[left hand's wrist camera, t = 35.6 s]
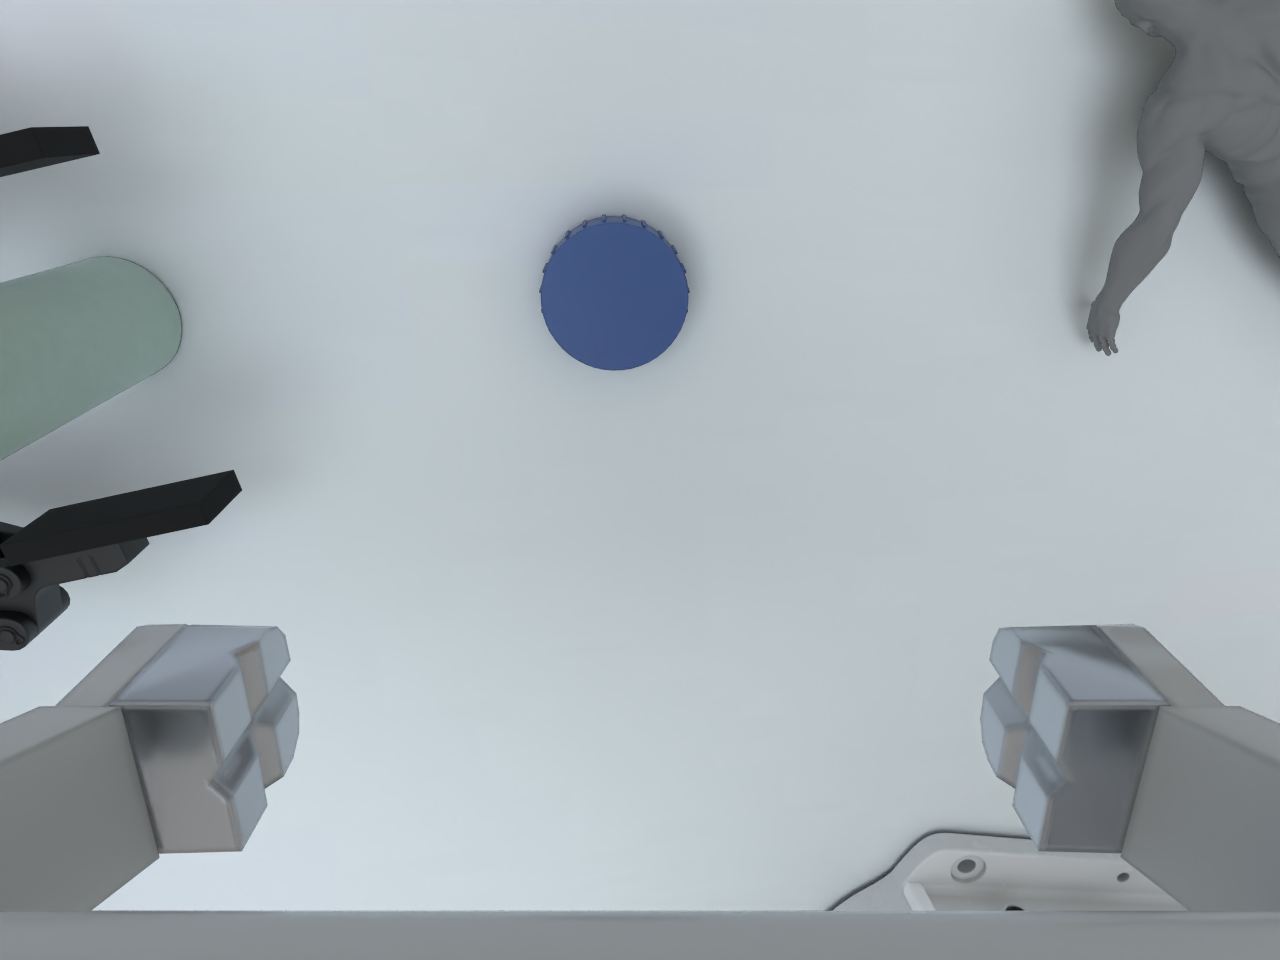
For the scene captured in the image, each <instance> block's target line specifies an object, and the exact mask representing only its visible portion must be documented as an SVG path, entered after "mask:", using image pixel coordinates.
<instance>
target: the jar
mask: <svg viewBox="0 0 1280 960" xmlns="http://www.w3.org/2000/svg"><path fill="white" fill-rule="evenodd" d="M181 331H182V328H181V319H180V314H179V311H178V308H177V306H176V303H175V301H174V299H173V298H172V296H171V294H170V293H169V291H168V290H167V289H166V287H165V286H164V285H163V284H162V283H161V282H160V281H159V280H158V279H157V278H156V277H155V276H154V275H153V274H151V273H150V272H149V271H147V270H146V269H144V268H143V267H141V266H139V265H137V264H135V263H132V262H130V261H127V260H124V259H120V258H114V257H95V258H90V259H86V260H83V261H79V262H75V263H72V264H68V265H64V266H61V267H57V268H54V269H50V270H46V271H43V272H39V273H35V274H32V275H28V276H24V277H21V278H17V279H13V280H10V281H6V282H2V283H0V460H2V459H4V458H5V457H7V456H9V455H11V454H13V453H14V452H16V451H18V450H20V449H21V448H23V447H25V446H27V445H28V444H30V443H32V442H34V441H36V440H37V439H39V438H41V437H43V436H44V435H46V434H48V433H50V432H52V431H53V430H55V429H57V428H59V427H60V426H62V425H64V424H66V423H67V422H69V421H71V420H73V419H75V418H76V417H78V416H80V415H82V414H83V413H85V412H87V411H89V410H90V409H92V408H94V407H96V406H98V405H99V404H101V403H103V402H105V401H106V400H108V399H110V398H112V397H113V396H115V395H117V394H119V393H121V392H122V391H124V390H126V389H128V388H129V387H131V386H133V385H135V384H136V383H138V382H140V381H142V380H144V379H145V378H147V377H149V376H151V375H152V374H154V373H156V372H158V371H159V370H161V369H162V368H164V367H165V366H166V365H167V364H168V363H169V362H170V361H171V360H172V359H173V357H174V356H175V354H176V352H177V350H178V347H179V345H180V340H181Z"/></svg>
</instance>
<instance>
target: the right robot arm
mask: <svg viewBox="0 0 1280 960" xmlns="http://www.w3.org/2000/svg"><path fill="white" fill-rule="evenodd" d="M96 154H100V153H99V151H98V148H97V146H96V144H95V141H94V139H93V136H92V134H91V132H90V129H89V127H31V128H27V129H23V130H19V131H14V132H10V133H6V134H2V135H0V177H3V176H7V175H11V174H16V173H20V172H24V171H28V170H33V169H37V168H41V167H45V166H50V165H54V164H58V163H62V162H67V161H71V160H75V159H79V158H84V157H88V156H92V155H96ZM241 491H242V489H241V486H240V484H239V481H238V479H237V477H236V474H235V472H234V470H231V471H226V472H221V473H217V474H212V475H208V476H203V477H198V478H194V479H189V480H184V481H180V482H175V483H170V484H166V485H161V486H156V487H152V488H147V489H142V490H138V491H133V492H128V493H124V494H119V495H115V496H110V497H105V498H101V499H96V500H91V501H87V502H82V503H77V504H73V505H68V506H63V507H59V508H54V509H50V510H48V511H47V512H46V513H44V514H43V515H41V516H40V517H38V518H37V519H36V520H34V521H33V522H31V523H30V524H28V525H27V526H26V527H24V528H23V527H19V526H15V525H11V524H7V523H3V522H0V650H11V651H13V650H20V649H22V648H24V647H25V646H26V645H27V644H29V643H30V642H31V641H32V640H33V639H34V638H35V637H36V636H37V635H38V634H40V633H41V632H42V631H43V630H44V629H45V628H46V627H47V626H48V625H49V624H51V623H52V622H53V621H54V620H55V619H56V618H57V617H58V616H59V615H61V614H62V613H63V612H64V611H65V610H66V609H67V608H68V606H69V605H70V597H69V595H68V593H67V592H66V591H65V589H64V588H62V587H61V586H59V584H61V583H65V582H70V581H75V580H80V579H84V578H87V577H94V576H98V575H103V574H108V573H113V572H117V571H118V570H120V569H121V568H123V567H124V566H125V565H127V564H128V563H129V562H130V561H132V560H133V559H134V558H135V557H136V556H137V555H138V554H139V553H140V552H141V551H142V550H143V549H144V548H145V547H147V546H148V545H149V542H148V540H147V538H146V537H151V536H155V535H160V534H165V533H170V532H174V531H179V530H184V529H188V528H193V527H198V526H203V525H207V524H209V523H210V522H211V521H212V520H213V519H214V518H215V517H216V516H217V515H218V514H219V513H220V512H221V511H222V510H223V509H224V508H225V507H226V506H227V505H228V504H229V503H230V502H231V501H232V500H233V499H234V498H235V497H236V496H237V495H238V494H239V493H240V492H241Z"/></svg>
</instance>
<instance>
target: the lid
mask: <svg viewBox="0 0 1280 960" xmlns="http://www.w3.org/2000/svg"><path fill="white" fill-rule="evenodd" d="M551 254H552V256H551V258H550V260H549V263H546V264H545V267H544V269H543V273H545V274H544V277H543V281H542V285H541V287H540V291H539V293H541V306H542V310H541V311H542V313H543V316H544V319H545V322H546V325H547V327H548V329H549V331H550V333H551V334H552V336H553V337H554V339H555V340H556V342H557V343H558V344H559V345H560V346H561V347H562V349H564V350H565V351H566V352H567V353H568V354H569V355H571V356H572V357H573V358H575V359H576V360H578V361H580V362H582V363H584V364H586V365H589V366H592V367H594V368H599V369H603V370H626V369H632V368H635V367H638V366H641V365H644V364H646V363H648V362H650V361H652V360H653V359H655V358H656V357H658V356H659V355H660V354H662V353H663V352H664V351H665V350H666V349H667V348H668V347H669V346H670V345H671V344H672V342H673V341H674V340H675V338H676V337H677V335H678V333H679V332H680V330H681V328H682V325H683V323H684V320H685V317H686V313H687V312H688V309H687V307H688V293H690V292H689V288H688V286H687V281H686V277H685V273H686V270H685V268H684V266H683V264H682V263H680V262H679V260H678V258H677V256H676V254H678V253H677V251H676V249H675V247H674V246H673V245H672V246H670V244H669V243H668V242H667V240H666V239H665V238H664V237H663V234H662V232H661V231H660V230H659V231H658V232H657V231H656V230H654V229H653V228H652V227H650V226H648V225H646V223H645V221H644V220H642V221H641V222H640V221H638V220H635V219H631V218H627V217H626V215H622V217H619V216H607V217H606V215H603V216H602V217H601V218H596V219H593V220H590V221H586V220H584V221H583V224H581V225H579V226H578V227H576V228H575V229H573V230H572V231H571V232H570V231H569V230H568V231H567V232H566V235H565V237H564V238H563V239H562V241H561V242H560V243H559V244H558V246H556V245H555V246H554V248H553V250H552V252H551Z"/></svg>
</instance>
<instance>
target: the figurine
mask: <svg viewBox="0 0 1280 960" xmlns="http://www.w3.org/2000/svg"><path fill="white" fill-rule="evenodd" d="M1115 4H1116V7H1117V9H1118V10H1119V11H1120V12H1121V15H1122V16H1125V17H1127V18H1128V19H1129V21H1130V23H1131V24H1132V25H1133V26H1136V27H1139V28H1141V29H1142V30H1143V31H1144V32H1145V33H1146V34H1149V35H1150V36H1152V37H1161V36H1163V37H1164V38H1165V39H1166V40H1167V41H1168V42H1169V43H1171V44H1172V45H1173V46H1174V47H1175V50H1176V53H1175V58H1174V61H1173V63H1172V64H1171V66H1170V67H1169V68H1168V70H1167V71H1166V72H1165V74H1164V75H1163V77H1162V78H1161V80H1160V82H1159V84H1158V87H1157V90H1156V91H1155V92H1154V93H1153V94H1152V95H1150V96H1149V97H1148V99H1147V100H1146V102H1145V105H1144V109H1143V113H1142V117H1141V120H1140V124H1139V127H1138V132H1137V152H1138V157H1139V161H1140V164H1141V167H1142V170H1143V176H1142V180H1141V184H1140V190H1139V205H1140V212H1139V214H1138V216H1137V218H1136V220H1135V221H1134V222H1133V223H1132V224H1131V225H1130V226H1129V227H1128V228H1127V229H1126V230H1125V231H1124V232H1123V233H1122V234H1121V235H1120V237H1119V238H1118V239H1117V241H1116V243H1115V245H1114V247H1113V251H1112V255H1111V259H1110V263H1109V268H1108V273H1107V278H1106V282H1105V285H1104V287H1103V289H1102V291H1101V292H1100V293H1099V295H1098V296H1097V298H1096V300H1095V301H1094V302H1092V305H1091V310H1090V315H1089V319H1088V324H1087V329H1088V334H1089V338H1090V340H1091V342H1094V346H1095V348H1096V350H1097V351H1101V350H1102V349H1103V351H1104V352H1105V354H1106V355H1107V356H1110V355H1111V351H1110V350H1109V346H1110V349H1111V350H1112V351H1113V352H1114V353H1117V352H1118V349H1117V348H1116V345H1115V340H1114V337H1115V333H1116V330H1117V327H1118V324H1119V320H1120V314H1119V309H1120V307H1121V305H1122V303H1123V302H1124V301H1125V300H1126V298H1127V297H1128V296H1129V295H1130V293H1131V292H1132V291H1133V290H1134V289H1135V288H1136V287H1137V286H1138V285H1139V284H1140V283H1141V282H1142V281H1143V280H1144V279H1145V277H1146V276H1147V275H1148V274H1149V273H1150V272H1151V271H1152V270H1153V268H1154V267H1155V266H1156V265H1157V264H1158V262H1159V261H1160V260H1161V259H1162V258H1163V257H1164V256H1165V255H1166V253H1167V252H1168V250H1169V248H1170V245H1171V240H1172V236H1173V233H1174V231H1175V229H1176V227H1177V225H1178V223H1179V220H1180V218H1181V216H1182V214H1183V212H1184V210H1185V209H1186V207H1187V205H1188V204H1189V202H1190V200H1191V199H1192V197H1193V195H1194V193H1195V191H1196V190H1197V188H1198V185H1199V183H1200V180H1201V177H1202V171H1203V161H1204V154H1205V151H1207V152H1209V153H1210V154H1211V155H1213V156H1215V157H1216V158H1217V159H1220V160H1222V161H1224V162H1226V163H1227V165H1228V166H1229V169H1230V172H1231V174H1232V176H1233V179H1234V181H1235V182H1237V183H1240V184H1242V185H1243V187H1244V191H1245V195H1246V197H1247V199H1248V200H1249V201H1250V203H1251V204H1252V207H1253V211H1254V216H1255V219H1256V222H1257V225H1258V227H1259V229H1260V230H1261V231H1262V232H1263V233H1264V234H1266V235H1267V236H1268V238H1269V241H1270V243H1271V245H1272V246H1273V248H1274V250H1275V251H1276V253H1277V254H1278V255H1279V257H1280V0H1115ZM1108 342H1109V344H1108ZM1101 344H1102V345H1101Z"/></svg>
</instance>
